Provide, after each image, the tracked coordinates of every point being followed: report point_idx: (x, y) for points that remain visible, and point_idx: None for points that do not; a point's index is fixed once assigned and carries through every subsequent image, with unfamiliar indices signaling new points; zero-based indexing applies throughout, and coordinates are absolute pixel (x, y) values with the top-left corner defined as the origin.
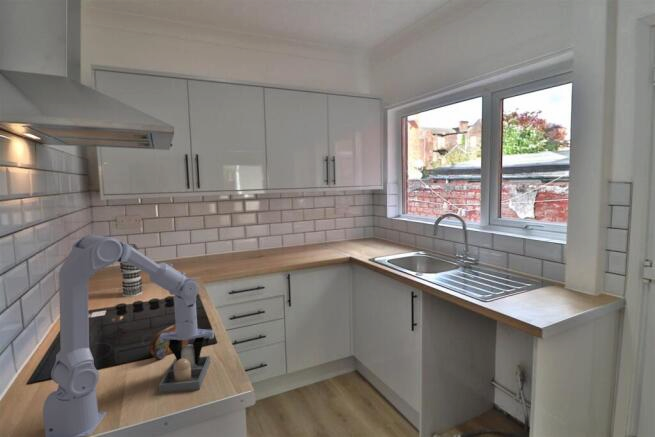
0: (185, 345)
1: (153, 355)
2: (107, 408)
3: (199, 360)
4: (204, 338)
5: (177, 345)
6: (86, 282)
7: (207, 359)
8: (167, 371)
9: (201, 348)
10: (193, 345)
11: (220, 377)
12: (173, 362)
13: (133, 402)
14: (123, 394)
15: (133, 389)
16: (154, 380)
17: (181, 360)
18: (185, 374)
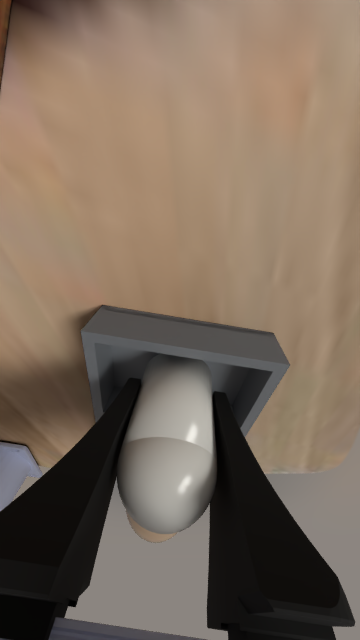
0: (139, 520)
1: None
2: (12, 431)
3: (226, 395)
4: (318, 638)
5: (87, 583)
6: None
7: (268, 391)
8: (96, 416)
9: (256, 467)
10: (208, 599)
11: (286, 418)
12: (91, 364)
13: (61, 432)
14: (9, 402)
15: (21, 392)
16: (61, 370)
17: (153, 541)
18: None
